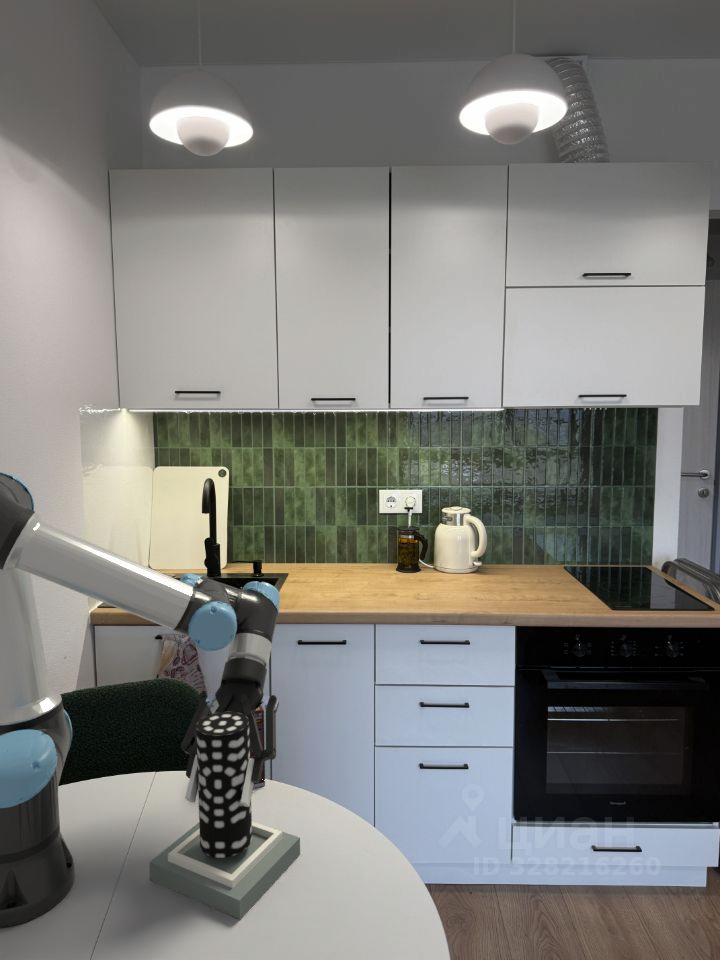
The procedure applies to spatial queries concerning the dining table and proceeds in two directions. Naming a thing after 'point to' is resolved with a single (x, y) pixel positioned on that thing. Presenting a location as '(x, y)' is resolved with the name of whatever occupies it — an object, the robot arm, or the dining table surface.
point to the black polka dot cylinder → (223, 783)
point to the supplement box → (260, 725)
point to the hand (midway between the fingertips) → (217, 802)
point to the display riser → (226, 869)
